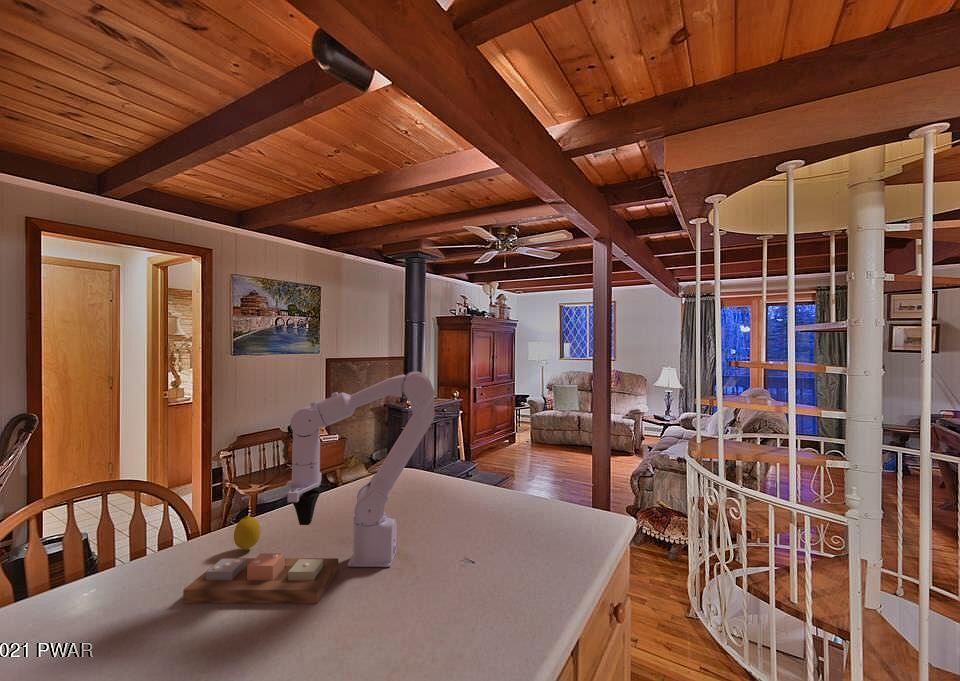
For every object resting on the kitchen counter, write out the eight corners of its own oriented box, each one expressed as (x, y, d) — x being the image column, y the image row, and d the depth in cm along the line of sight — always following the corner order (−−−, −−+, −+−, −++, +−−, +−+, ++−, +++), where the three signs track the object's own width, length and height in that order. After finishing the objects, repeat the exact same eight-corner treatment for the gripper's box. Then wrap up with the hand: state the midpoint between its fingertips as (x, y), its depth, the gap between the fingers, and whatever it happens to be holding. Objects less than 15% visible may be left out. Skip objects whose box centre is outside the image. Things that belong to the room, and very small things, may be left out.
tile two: (284, 570, 88) (284, 552, 88) (272, 583, 83) (273, 564, 83) (260, 570, 88) (260, 552, 88) (247, 583, 83) (247, 564, 83)
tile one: (323, 575, 88) (323, 558, 88) (313, 589, 83) (313, 570, 83) (298, 575, 88) (299, 558, 88) (288, 589, 83) (288, 570, 83)
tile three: (245, 575, 88) (245, 557, 88) (231, 589, 83) (231, 570, 83) (221, 575, 88) (221, 557, 88) (206, 589, 83) (206, 570, 83)
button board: (338, 570, 91) (338, 558, 92) (317, 603, 79) (317, 589, 80) (222, 569, 91) (222, 558, 91) (183, 603, 79) (183, 589, 79)
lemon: (248, 557, 97) (249, 521, 97) (227, 554, 98) (228, 519, 98) (265, 546, 103) (265, 512, 103) (245, 543, 104) (246, 510, 104)
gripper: (300, 453, 101) (299, 511, 101) (272, 471, 87) (271, 538, 86) (330, 453, 101) (329, 511, 101) (307, 471, 87) (306, 538, 87)
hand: (305, 523), depth 94 cm, fingers closed
